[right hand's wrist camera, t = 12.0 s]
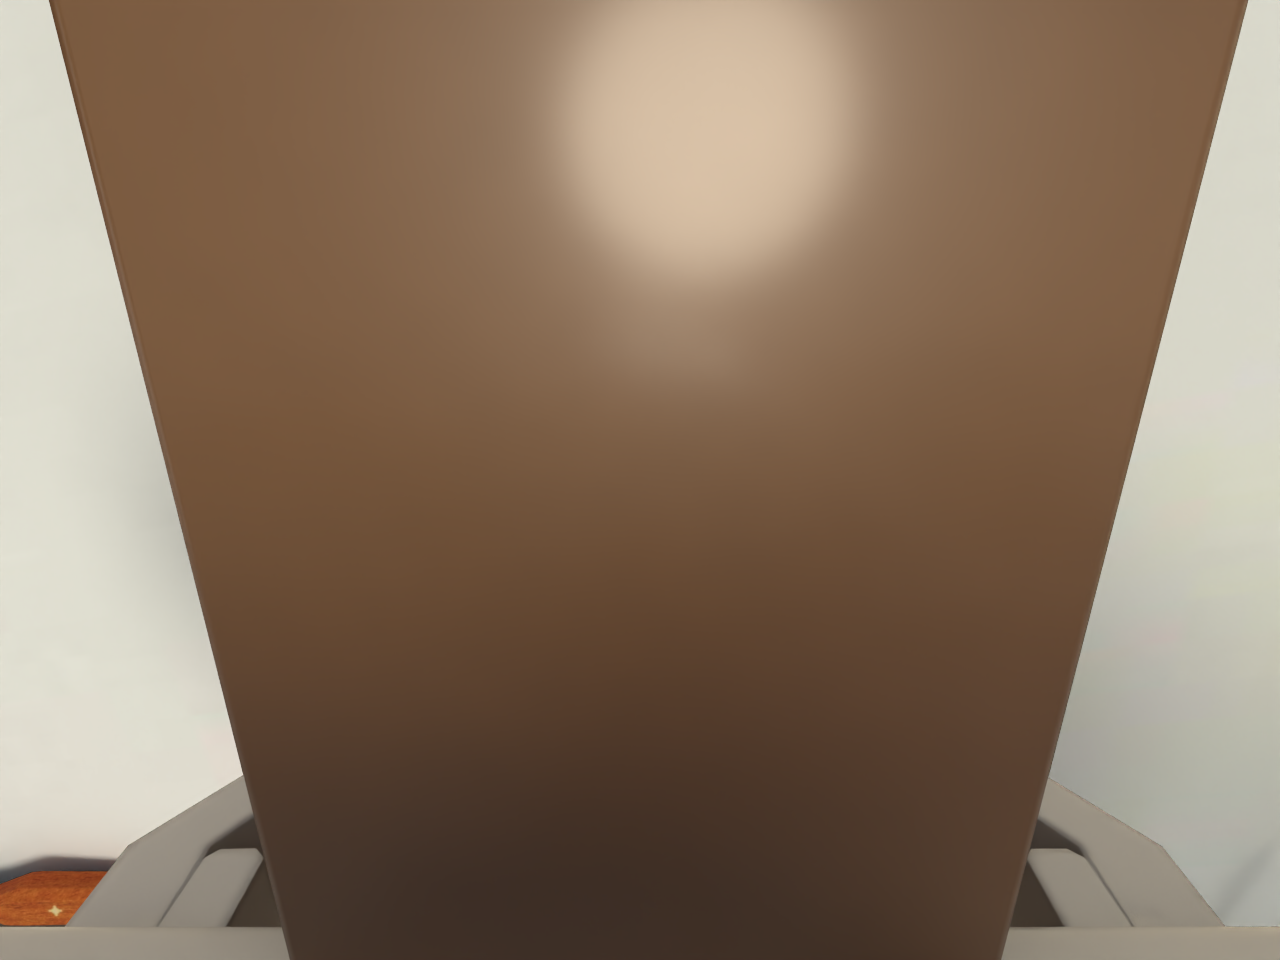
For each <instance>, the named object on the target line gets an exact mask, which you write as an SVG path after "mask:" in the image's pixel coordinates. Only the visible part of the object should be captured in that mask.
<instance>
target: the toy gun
mask: <svg viewBox="0 0 1280 960" xmlns="http://www.w3.org/2000/svg"><path fill="white" fill-rule="evenodd" d="M107 872H108V871H38V872H31V873H28V874H26V875H23V876H20V877H18V878H15V879H12V880H10V881H7V882H4V883H2V884H0V927H65V926H66V924H67V923H68V922H69V920H70V919H71V918H72V917H73V915H74V914H75V913H76V912H77V910H78V909H79V908H80V906H81V905H82V904H83V903H84V901H85V900H86V899H87V897H88V896H89V895H90V894H91V892H92V891H93V890H94V889H95V887H96V886H97V885H98V883H99V882H100V881H101V880H102V878H103V877H104V876H105V874H106V873H107Z"/></svg>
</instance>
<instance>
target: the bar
mask: <svg viewBox="0 0 1280 960" xmlns="http://www.w3.org/2000/svg"><path fill="white" fill-rule="evenodd" d="M49 2H50V6H51V10H52V14H53V18H54V22H55V26H56V30H57V34H58V38H59V42H60V46H61V50H62V54H63V58H64V62H65V66H66V70H67V74H68V78H69V82H70V86H71V90H72V94H73V98H74V102H75V106H76V110H77V114H78V118H79V122H80V126H81V130H82V134H83V138H84V142H85V146H86V150H87V154H88V158H89V162H90V166H91V170H92V174H93V178H94V182H95V186H96V190H97V194H98V198H99V202H100V206H101V210H102V213H103V217H104V221H105V225H106V229H107V233H108V237H109V241H110V245H111V249H112V253H113V257H114V261H115V265H116V269H117V273H118V277H119V281H120V285H121V289H122V293H123V297H124V301H125V305H126V309H127V313H128V317H129V321H130V325H131V329H132V333H133V337H134V341H135V345H136V349H137V353H138V357H139V361H140V365H141V369H142V373H143V377H144V381H145V385H146V389H147V393H148V397H149V401H150V405H151V409H152V413H153V417H154V421H155V425H156V429H157V433H158V437H159V441H160V445H161V449H162V452H163V456H164V460H165V464H166V468H167V472H168V476H169V480H170V484H171V488H172V492H173V496H174V500H175V504H176V508H177V512H178V516H179V520H180V524H181V528H182V532H183V536H184V540H185V544H186V548H187V552H188V556H189V560H190V564H191V568H192V572H193V576H194V580H195V584H196V588H197V592H198V596H199V600H200V604H201V608H202V612H203V616H204V620H205V624H206V628H207V632H208V636H209V640H210V644H211V648H212V652H213V656H214V660H215V664H216V668H217V672H218V676H219V680H220V684H221V688H222V692H223V695H224V699H225V703H226V707H227V711H228V715H229V719H230V723H231V727H232V731H233V735H234V739H235V743H236V747H237V751H238V755H239V759H240V763H241V767H242V771H243V775H244V779H245V783H246V787H247V791H248V795H249V799H250V803H251V807H252V811H253V815H254V819H255V823H256V827H257V831H258V835H259V839H260V843H261V847H262V851H263V855H264V859H265V863H266V867H267V871H268V875H269V879H270V883H271V887H272V891H273V895H274V899H275V903H276V907H277V911H278V915H279V919H280V923H281V927H282V931H283V934H284V938H285V942H286V946H287V950H288V954H289V958H290V960H1001V959H1002V955H1003V951H1004V947H1005V943H1006V939H1007V935H1008V931H1009V928H1010V924H1011V920H1012V916H1013V912H1014V908H1015V904H1016V900H1017V897H1018V893H1019V889H1020V885H1021V881H1022V877H1023V873H1024V869H1025V865H1026V862H1027V858H1028V854H1029V850H1030V846H1031V842H1032V838H1033V834H1034V830H1035V827H1036V823H1037V819H1038V815H1039V811H1040V807H1041V803H1042V799H1043V796H1044V792H1045V788H1046V784H1047V780H1048V776H1049V772H1050V768H1051V764H1052V761H1053V757H1054V753H1055V749H1056V745H1057V741H1058V737H1059V733H1060V729H1061V726H1062V722H1063V718H1064V714H1065V710H1066V706H1067V702H1068V698H1069V695H1070V691H1071V687H1072V683H1073V679H1074V675H1075V671H1076V667H1077V663H1078V660H1079V656H1080V652H1081V648H1082V644H1083V640H1084V636H1085V632H1086V628H1087V625H1088V621H1089V617H1090V613H1091V609H1092V605H1093V601H1094V597H1095V594H1096V590H1097V586H1098V582H1099V578H1100V574H1101V570H1102V566H1103V562H1104V559H1105V555H1106V551H1107V547H1108V543H1109V539H1110V535H1111V531H1112V527H1113V524H1114V520H1115V516H1116V512H1117V508H1118V504H1119V500H1120V496H1121V493H1122V489H1123V485H1124V481H1125V477H1126V473H1127V469H1128V465H1129V461H1130V458H1131V454H1132V450H1133V446H1134V442H1135V438H1136V434H1137V430H1138V426H1139V423H1140V419H1141V415H1142V411H1143V407H1144V403H1145V399H1146V395H1147V392H1148V388H1149V384H1150V380H1151V376H1152V372H1153V368H1154V364H1155V360H1156V357H1157V353H1158V349H1159V345H1160V341H1161V337H1162V333H1163V329H1164V325H1165V322H1166V318H1167V314H1168V310H1169V306H1170V302H1171V298H1172V294H1173V291H1174V287H1175V283H1176V279H1177V275H1178V271H1179V267H1180V263H1181V259H1182V256H1183V252H1184V248H1185V244H1186V240H1187V236H1188V232H1189V228H1190V224H1191V221H1192V217H1193V213H1194V209H1195V205H1196V201H1197V197H1198V193H1199V190H1200V186H1201V182H1202V178H1203V174H1204V170H1205V166H1206V162H1207V158H1208V155H1209V151H1210V147H1211V143H1212V139H1213V135H1214V131H1215V127H1216V123H1217V120H1218V116H1219V112H1220V108H1221V104H1222V100H1223V96H1224V92H1225V89H1226V85H1227V81H1228V77H1229V73H1230V69H1231V65H1232V61H1233V57H1234V54H1235V50H1236V46H1237V42H1238V38H1239V34H1240V30H1241V26H1242V22H1243V19H1244V15H1245V11H1246V7H1247V3H1248V0H49Z"/></svg>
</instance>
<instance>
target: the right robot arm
mask: <svg viewBox="0 0 1280 960" xmlns="http://www.w3.org/2000/svg"><path fill="white" fill-rule="evenodd" d="M0 960H290V958H289V954H288V950H287V946H286V942H285V938H284V934H283V931H282V927H281V923H280V919H279V915H278V911H277V907H276V903H275V899H274V895H273V891H272V887H271V883H270V879H269V875H268V871H267V867H266V863H265V859H264V855H263V851H262V847H261V843H260V839H259V835H258V831H257V827H256V823H255V819H254V815H253V811H252V807H251V803H250V799H249V795H248V791H247V787H246V783H245V779H244V775H243V776H241V777H239V778H238V779H236V780H235V781H233V782H231V783H230V784H228V785H226V786H225V787H223V788H221V789H220V790H218V791H217V792H215V793H213V794H212V795H210V796H208V797H207V798H205V799H203V800H202V801H200V802H199V803H197V804H195V805H194V806H192V807H190V808H189V809H187V810H185V811H184V812H182V813H180V814H179V815H177V816H176V817H174V818H172V819H171V820H169V821H167V822H166V823H164V824H162V825H161V826H159V827H158V828H156V829H154V830H153V831H151V832H149V833H148V834H146V835H144V836H143V837H141V838H140V839H138V840H136V841H135V842H133V843H131V844H130V845H128V846H127V848H126V849H125V850H124V851H123V853H122V854H121V855H120V857H119V858H118V859H117V860H116V862H115V863H114V864H113V866H112V867H111V868H110V869H109V871H108V872H107V873H106V874H105V876H104V877H103V878H102V880H101V881H100V882H99V883H98V885H97V886H96V887H95V889H94V890H93V891H92V892H91V894H90V895H89V896H88V897H87V899H86V900H85V901H84V903H83V904H82V905H81V906H80V908H79V909H78V910H77V912H76V913H75V914H74V915H73V917H72V918H71V919H70V920H69V922H68V923H67V924H66V926H65V927H0ZM1001 960H1280V927H1225V925H1224V924H1223V923H1222V922H1221V920H1220V919H1219V918H1218V916H1217V915H1216V914H1215V913H1214V911H1213V910H1212V909H1211V908H1210V906H1209V905H1208V904H1207V903H1206V901H1205V900H1204V899H1203V898H1202V896H1201V895H1200V894H1199V892H1198V891H1197V890H1196V889H1195V887H1194V886H1193V885H1192V884H1191V882H1190V881H1189V880H1188V879H1187V877H1186V876H1185V875H1184V873H1183V872H1182V871H1181V870H1180V868H1179V867H1178V866H1177V865H1176V863H1175V862H1174V861H1173V860H1172V858H1171V857H1170V856H1169V855H1168V853H1167V852H1166V851H1165V849H1164V848H1163V847H1162V846H1160V845H1159V844H1157V843H1155V842H1154V841H1152V840H1151V839H1149V838H1147V837H1146V836H1144V835H1142V834H1141V833H1139V832H1137V831H1136V830H1134V829H1132V828H1131V827H1129V826H1127V825H1126V824H1124V823H1123V822H1121V821H1119V820H1118V819H1116V818H1114V817H1113V816H1111V815H1109V814H1108V813H1106V812H1104V811H1103V810H1101V809H1099V808H1098V807H1096V806H1095V805H1093V804H1091V803H1090V802H1088V801H1086V800H1085V799H1083V798H1081V797H1080V796H1078V795H1076V794H1075V793H1073V792H1071V791H1070V790H1068V789H1066V788H1065V787H1063V786H1062V785H1060V784H1058V783H1057V782H1055V781H1053V780H1052V779H1050V778H1048V780H1047V784H1046V788H1045V792H1044V796H1043V799H1042V803H1041V807H1040V811H1039V815H1038V819H1037V823H1036V827H1035V830H1034V834H1033V838H1032V842H1031V846H1030V850H1029V854H1028V858H1027V862H1026V865H1025V869H1024V873H1023V877H1022V881H1021V885H1020V889H1019V893H1018V897H1017V900H1016V904H1015V908H1014V912H1013V916H1012V920H1011V924H1010V928H1009V931H1008V935H1007V939H1006V943H1005V947H1004V951H1003V955H1002V959H1001Z"/></svg>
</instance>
